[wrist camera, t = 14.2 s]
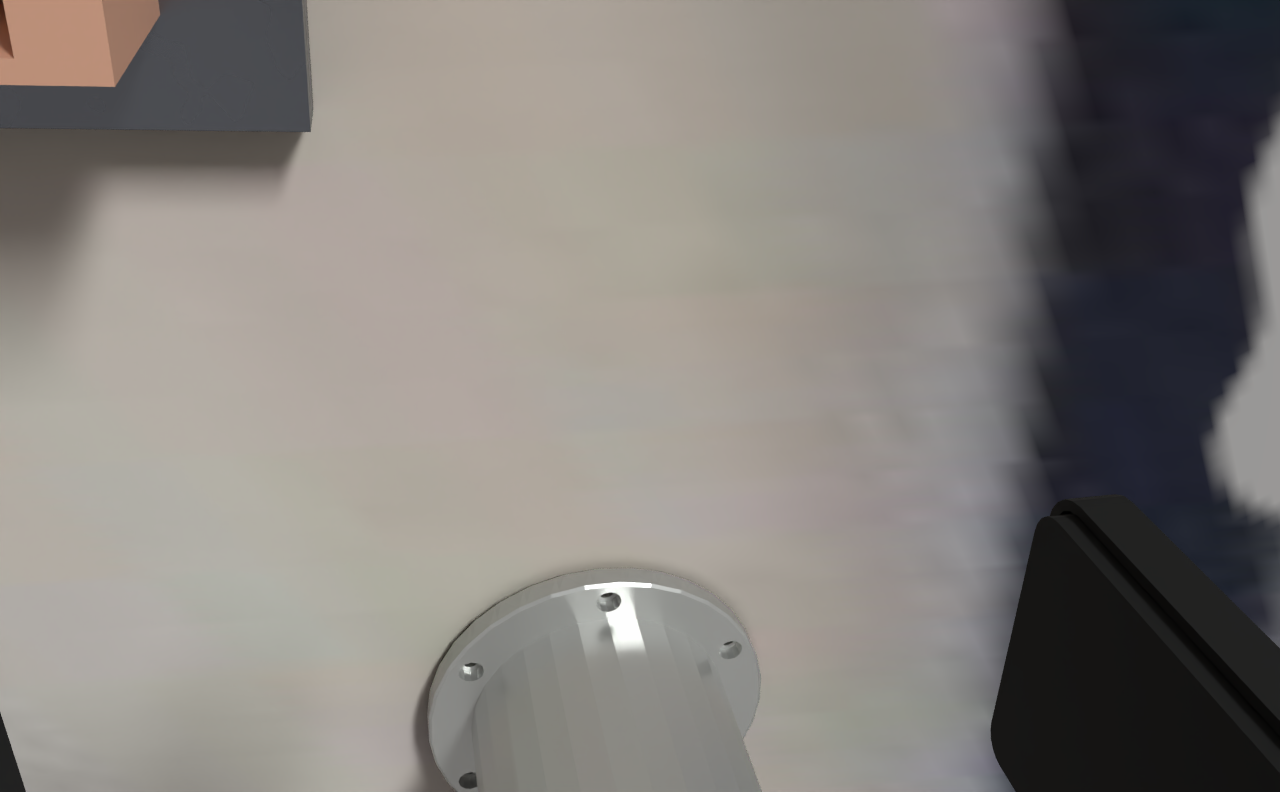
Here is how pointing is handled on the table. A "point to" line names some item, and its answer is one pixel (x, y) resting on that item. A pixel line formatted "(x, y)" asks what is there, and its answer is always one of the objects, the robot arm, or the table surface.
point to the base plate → (192, 75)
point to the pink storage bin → (71, 40)
